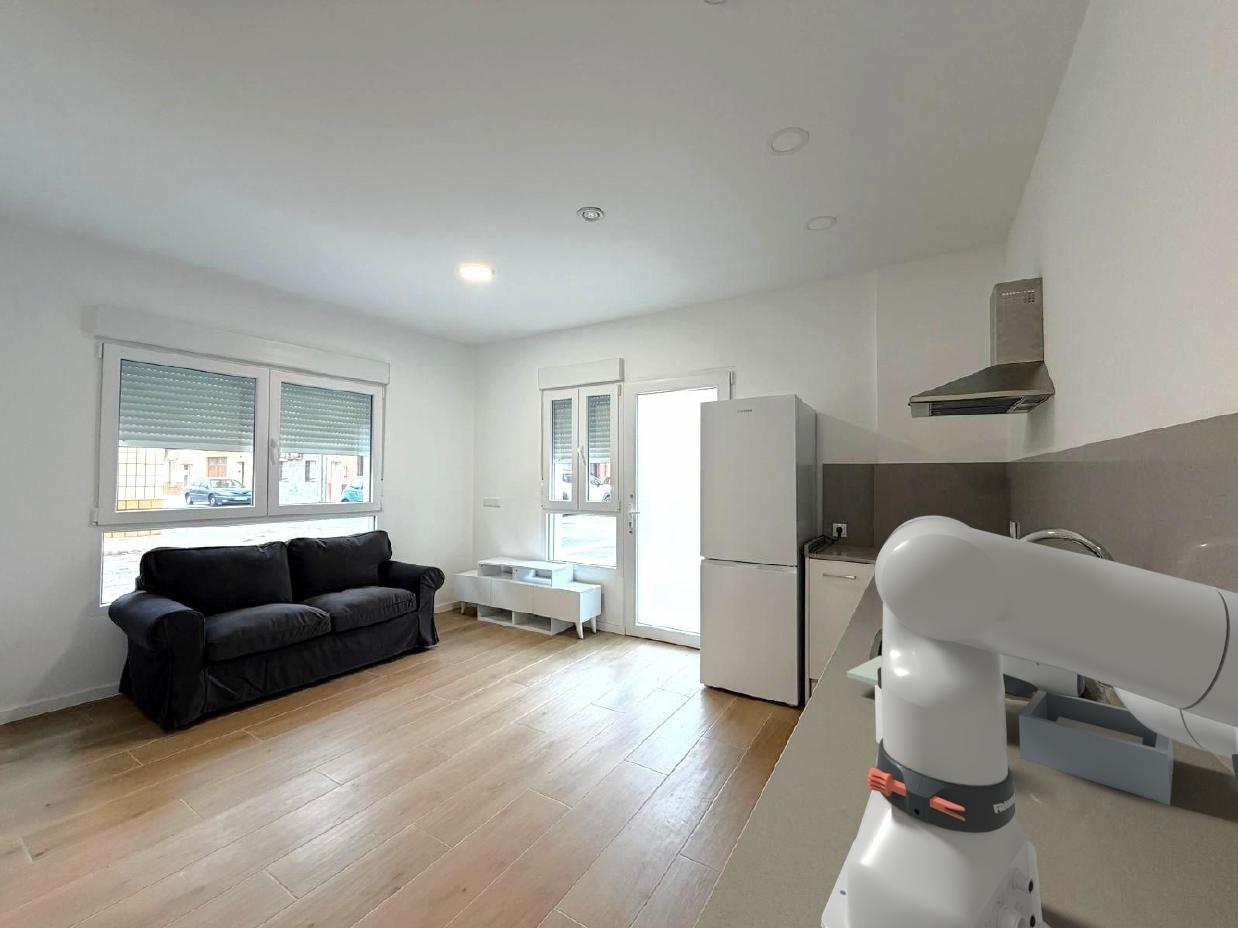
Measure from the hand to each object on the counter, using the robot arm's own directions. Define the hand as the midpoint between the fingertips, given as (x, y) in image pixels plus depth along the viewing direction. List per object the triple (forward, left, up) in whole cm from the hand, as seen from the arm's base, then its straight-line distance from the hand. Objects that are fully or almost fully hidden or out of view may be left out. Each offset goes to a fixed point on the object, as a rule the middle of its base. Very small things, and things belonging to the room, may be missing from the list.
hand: (898, 630), depth 106 cm
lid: (0, -1, -10) cm, 11 cm away
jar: (-23, -9, -13) cm, 28 cm away
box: (-5, -30, -13) cm, 33 cm away
